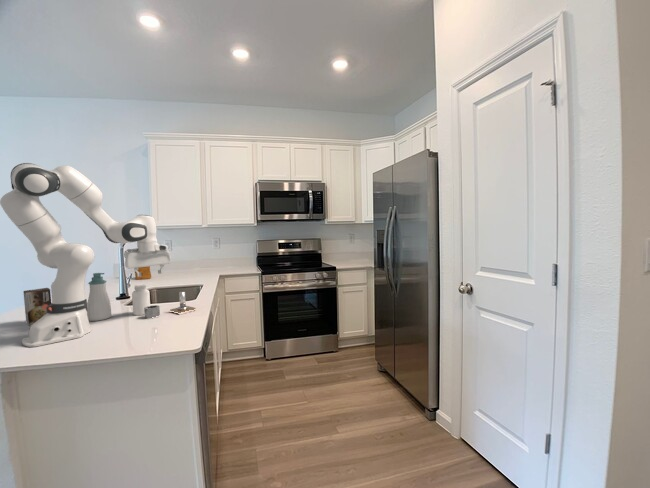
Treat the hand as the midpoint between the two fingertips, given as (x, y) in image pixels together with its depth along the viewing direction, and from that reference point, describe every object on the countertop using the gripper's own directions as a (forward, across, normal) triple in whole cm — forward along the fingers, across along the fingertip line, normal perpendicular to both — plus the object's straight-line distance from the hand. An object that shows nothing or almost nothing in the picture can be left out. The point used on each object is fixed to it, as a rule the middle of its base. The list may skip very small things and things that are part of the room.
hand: (150, 275), depth 159 cm
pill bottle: (+21, -3, +10) cm, 24 cm away
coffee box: (+21, -42, +30) cm, 56 cm away
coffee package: (+24, +30, +137) cm, 142 cm away
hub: (+21, -1, -1) cm, 21 cm away
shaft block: (+22, +14, -2) cm, 26 cm away
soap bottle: (+21, -20, +16) cm, 33 cm away
